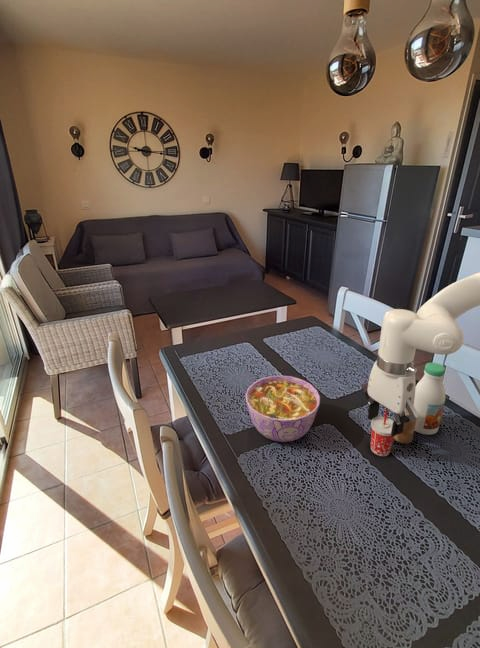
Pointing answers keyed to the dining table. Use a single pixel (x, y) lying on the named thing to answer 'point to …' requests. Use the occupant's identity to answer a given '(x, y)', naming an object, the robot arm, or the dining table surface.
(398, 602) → the dining table surface
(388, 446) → the beverage cup
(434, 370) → the milk bottle
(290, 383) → the bowl of food
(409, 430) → the cylinder
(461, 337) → the robot arm
